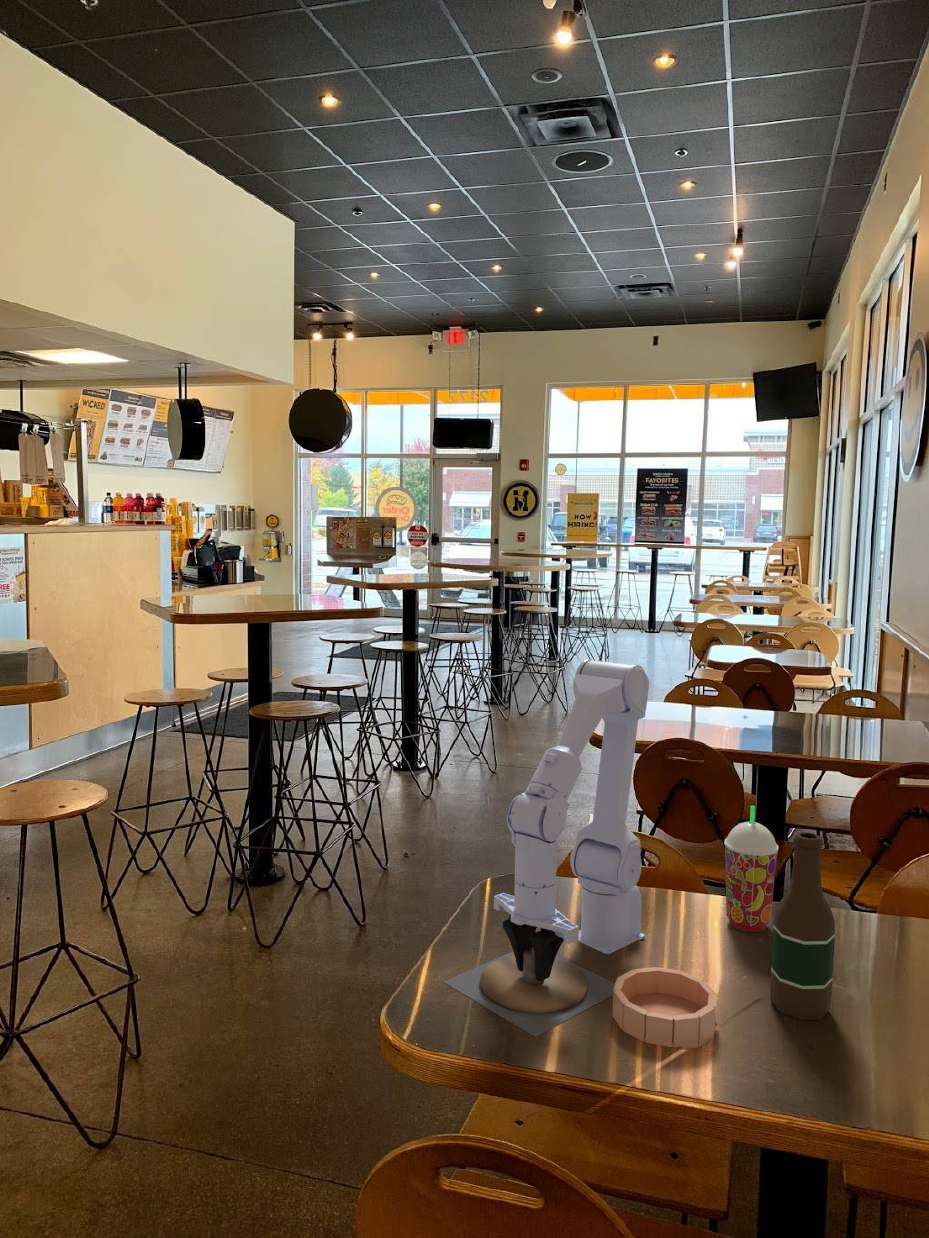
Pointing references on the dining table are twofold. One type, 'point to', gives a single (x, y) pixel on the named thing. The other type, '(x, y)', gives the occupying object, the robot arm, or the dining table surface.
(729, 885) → the smoothie
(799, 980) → the beer bottle
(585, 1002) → the mat
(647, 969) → the bowl
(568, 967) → the lid
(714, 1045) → the dining table surface
